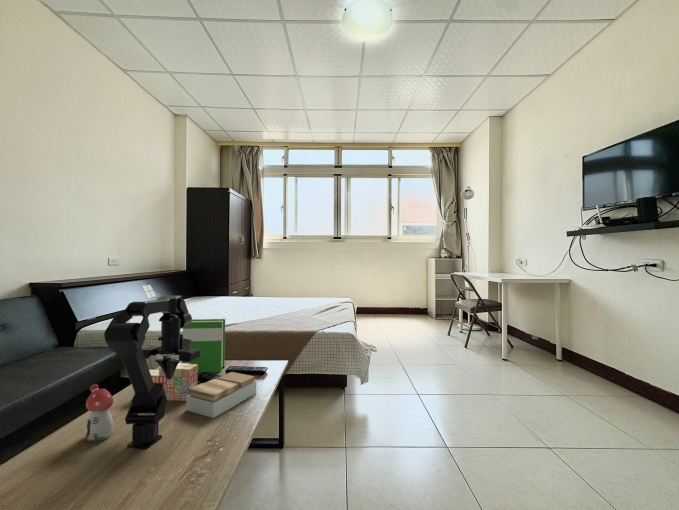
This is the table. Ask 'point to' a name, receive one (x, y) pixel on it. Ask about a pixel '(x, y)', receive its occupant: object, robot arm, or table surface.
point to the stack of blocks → (177, 381)
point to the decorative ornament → (99, 415)
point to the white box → (226, 402)
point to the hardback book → (207, 343)
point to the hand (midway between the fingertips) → (169, 379)
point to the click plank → (213, 389)
